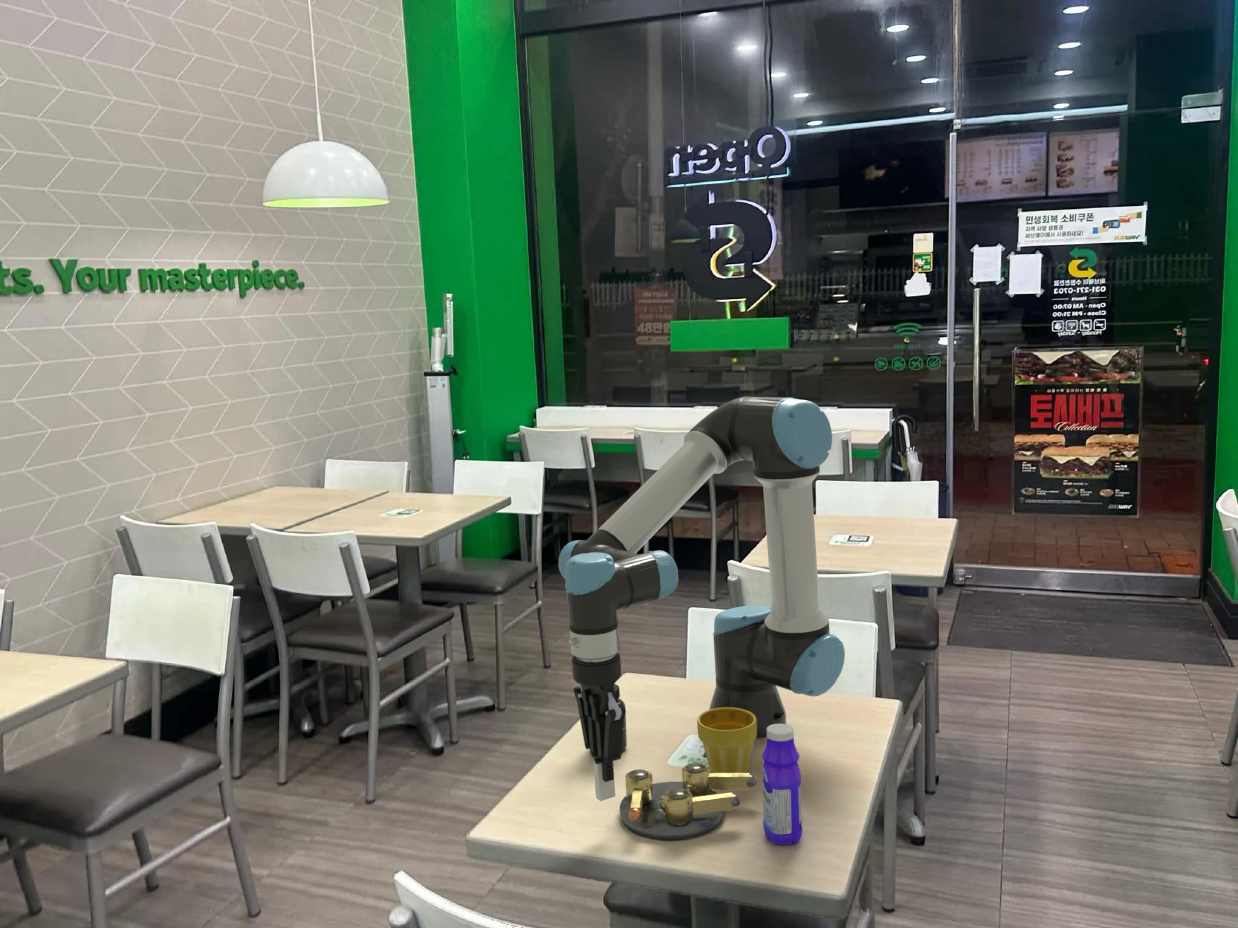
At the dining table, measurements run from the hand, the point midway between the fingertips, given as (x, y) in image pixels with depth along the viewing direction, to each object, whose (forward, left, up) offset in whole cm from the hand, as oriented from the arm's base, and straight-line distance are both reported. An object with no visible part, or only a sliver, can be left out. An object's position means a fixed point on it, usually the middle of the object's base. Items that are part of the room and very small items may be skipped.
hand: (605, 796), depth 163 cm
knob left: (-20, -4, -3) cm, 20 cm away
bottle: (-26, +9, -6) cm, 28 cm away
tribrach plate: (-11, -2, -6) cm, 13 cm away
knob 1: (-5, -1, -3) cm, 6 cm away
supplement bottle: (-5, -30, -6) cm, 31 cm away
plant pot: (-24, -15, -6) cm, 29 cm away
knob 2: (-15, +3, -3) cm, 16 cm away
